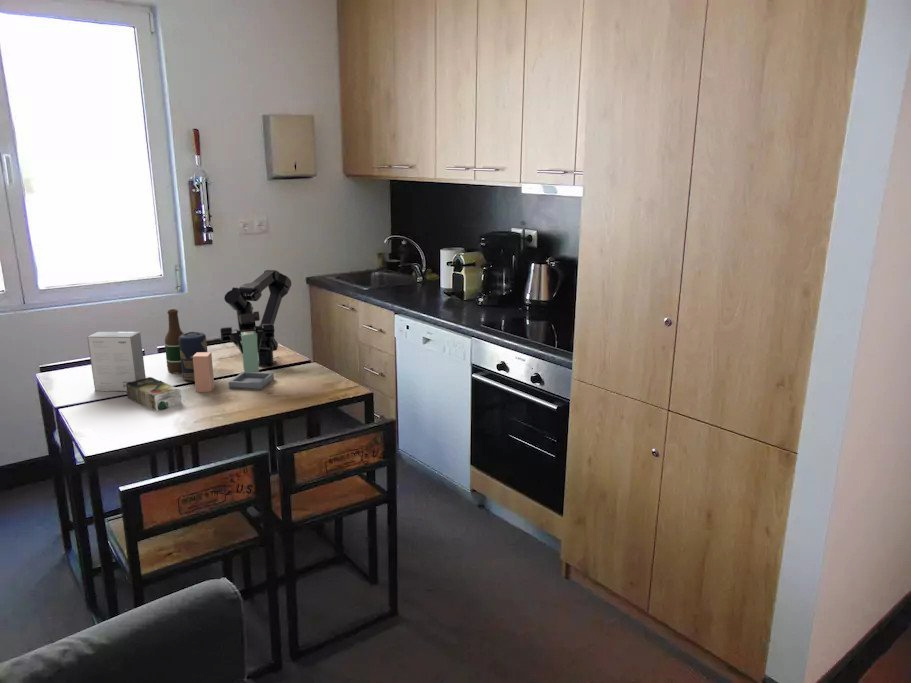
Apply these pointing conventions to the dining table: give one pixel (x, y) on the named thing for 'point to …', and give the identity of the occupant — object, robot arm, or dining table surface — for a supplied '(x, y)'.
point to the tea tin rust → (203, 371)
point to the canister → (190, 351)
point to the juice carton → (153, 393)
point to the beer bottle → (173, 343)
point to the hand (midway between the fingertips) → (250, 352)
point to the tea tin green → (250, 351)
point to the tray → (251, 381)
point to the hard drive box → (115, 359)
